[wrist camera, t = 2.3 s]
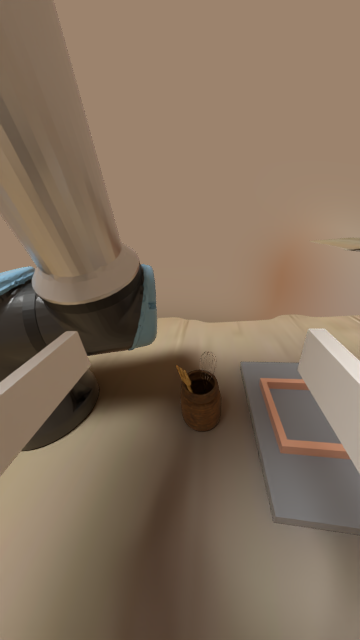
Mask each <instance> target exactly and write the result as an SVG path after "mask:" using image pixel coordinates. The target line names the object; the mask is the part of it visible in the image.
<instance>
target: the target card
mask: <svg viewBox="0 0 360 640" xmlns="http://www.w3.org/2000/svg"><path fill="white" fill-rule="evenodd" d="M298 366H299V363H280V362H241V364H240V369H241V374H242V378H243V383H244V388H245V392H246V397H247V402H248V406H249V411H250V416H251V420H252V425H253V429H254V434H255V439H256V443H257V448H258V453H259V457H260V462H261V467H262V471H263V476H264V481H265V485H266V490H267V495H268V499H269V504H270V509H271V513H272V518H273V522H274V523H281V524H288V525H294V526H301V527H308V528H315V529H321V530H328V531H335V532H342V533H349V534H355V535H360V474H359V472H358V470H357V469H356V467H355V465H354V464H353V462H352V460H351V459H350V457H349V455H348V454H347V452H346V450H345V449H344V447H343V445H342V444H341V442H340V440H339V439H338V437H337V435H336V434H335V432H334V430H333V429H332V427H331V425H330V424H329V422H328V420H327V419H326V417H325V415H324V414H323V412H322V410H321V409H320V407H319V405H318V404H317V402H316V400H315V399H314V397H313V395H312V394H311V392H310V390H309V389H308V387H307V385H306V384H305V382H304V380H303V379H302V377H301V375H300V374H299V372H298V370H297V369H298Z"/></svg>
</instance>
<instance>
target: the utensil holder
mask: <svg viewBox="0 0 360 640" xmlns="http://www.w3.org/2000/svg"><path fill="white" fill-rule="evenodd" d="M208 353H210V352H209V351H208ZM208 353H207V354H208ZM204 354H205V352H204ZM210 354H211V353H210ZM210 354H209V357H210ZM212 354H213V353H212ZM212 354H211V355H212ZM202 355H203V354H202ZM212 356H213V355H212ZM201 357H202V356H201ZM205 357H206V356H205ZM215 357H216V356H215ZM200 359H201V360H202V358H200ZM204 359H205V358H204ZM214 360H215V359H214ZM203 362H204V361H203ZM206 362H207V359H206ZM212 363H213V360H212ZM199 366H200V363H199ZM209 366H210V362H209ZM176 367H177V370H178V372H179V375H180V377H181V380H182V386H181V389H182V390H181V408H182V414H183V418H184V420H185V422H186V423H187V425H188V426H189V427H191V428H192V429H194V430H197V431H207V430H210V429H212V428H213V427H215V426H216V424H217V423H218V421H219V418H220V412H221V396H220V391H219V387H218V382H217V379H216V377H215V376H214V375H213V374H214V373H213V374H211V373H210V372H211V371H210V372H208V371H204V370H203V367H202V369H201V370H200V369H199V370H195V371H192V372H190V373H188V374H187V373H186V370H182V368H181V367H180V369H179V367H178V365H176ZM211 368H212V367H211ZM215 368H216V367H214V371H215ZM183 371H184V372H183Z"/></svg>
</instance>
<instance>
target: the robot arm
mask: <svg viewBox="0 0 360 640" xmlns="http://www.w3.org/2000/svg"><path fill="white" fill-rule="evenodd" d="M0 215H1V216H2V218H3V219H4V221H5V222H6V223H7V225H8V226H9V228H10V229H11V230H12V232H13V233H14V235H15V236H16V237H17V239H18V240H19V242H20V243H21V244H22V246H23V247H24V248H25V250H26V251H27V253H28V254H29V256H30V257H31V258H32V260H33V261H34V263H35V264H36V265H37V267H36V269H34V268H33V267H23V268H18V269H14V270H10V271H6V272H2V273H0V476H1V475H2V474H3V472H4V471H5V470H6V469H7V467H8V466H9V465H10V464H11V463H12V461H13V460H14V459H15V458H16V456H17V455H18V454H19V453H20V452H21V451H24V450H31V449H36V448H39V447H42V446H45V445H47V444H50V443H52V442H54V441H56V440H57V439H59V438H61V437H63V436H64V435H66V434H67V433H69V432H70V431H71V430H73V429H74V428H75V427H76V426H77V425H78V424H80V423H81V422H82V421H83V420H84V419H85V417H86V416H87V415H88V414H89V413H90V411H91V410H92V408H93V407H94V405H95V403H96V401H97V398H98V395H99V385H98V383H97V380H96V378H95V376H94V374H93V373H92V372H91V371H90V370H89V369H88V368H89V367H90V366H91V364H90V362H89V359H88V357H87V356H90V355H97V354H104V353H111V352H118V351H124V350H133V349H134V348H138V347H143V346H147V345H150V344H151V343H152V342H153V341H154V340H155V338H156V334H157V309H156V290H155V280H154V273H153V269H152V267H151V266H149V265H144V264H142V265H140V261H139V258H138V255H137V253H136V252H135V251H134V250H133V249H132V248H131V247H129V246H127V245H125V244H124V243H122V242H121V241H120V238H119V234H118V230H117V226H116V223H115V219H114V216H113V212H112V208H111V205H110V201H109V198H108V194H107V190H106V187H105V183H104V180H103V176H102V172H101V169H100V165H99V162H98V158H97V155H96V151H95V147H94V144H93V140H92V136H91V133H90V130H89V126H88V123H87V119H86V115H85V111H84V108H83V104H82V101H81V97H80V94H79V90H78V86H77V83H76V79H75V75H74V72H73V68H72V65H71V61H70V58H69V54H68V50H67V47H66V43H65V39H64V36H63V32H62V29H61V26H60V21H59V18H58V14H57V11H56V7H55V3H54V0H0ZM297 370H298V372H299V374H300V375H301V377H302V379H303V380H304V382H305V384H306V385H307V387H308V389H309V390H310V392H311V394H312V395H313V397H314V399H315V400H316V402H317V404H318V405H319V407H320V409H321V410H322V412H323V414H324V415H325V417H326V419H327V420H328V422H329V424H330V425H331V427H332V429H333V430H334V432H335V434H336V435H337V437H338V439H339V440H340V442H341V444H342V445H343V447H344V449H345V450H346V452H347V454H348V455H349V457H350V459H351V460H352V462H353V464H354V465H355V467H356V469H357V470H358V472H359V474H360V361H359V360H358V359H357V358H356V357H355V356H354V355H353V354H352V353H351V352H350V351H348V350H347V349H346V348H345V347H344V346H343V345H342V344H341V343H340V342H339V341H338V340H337V339H335V338H334V337H333V336H332V335H331V334H330V333H329V332H328V331H327V330H326V329H308V331H307V335H306V339H305V343H304V346H303V350H302V354H301V358H300V362H299V366H298V369H297Z"/></svg>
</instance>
